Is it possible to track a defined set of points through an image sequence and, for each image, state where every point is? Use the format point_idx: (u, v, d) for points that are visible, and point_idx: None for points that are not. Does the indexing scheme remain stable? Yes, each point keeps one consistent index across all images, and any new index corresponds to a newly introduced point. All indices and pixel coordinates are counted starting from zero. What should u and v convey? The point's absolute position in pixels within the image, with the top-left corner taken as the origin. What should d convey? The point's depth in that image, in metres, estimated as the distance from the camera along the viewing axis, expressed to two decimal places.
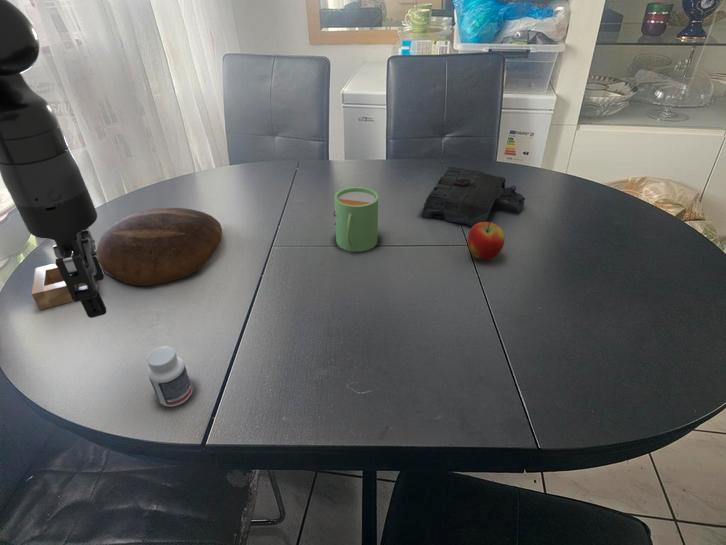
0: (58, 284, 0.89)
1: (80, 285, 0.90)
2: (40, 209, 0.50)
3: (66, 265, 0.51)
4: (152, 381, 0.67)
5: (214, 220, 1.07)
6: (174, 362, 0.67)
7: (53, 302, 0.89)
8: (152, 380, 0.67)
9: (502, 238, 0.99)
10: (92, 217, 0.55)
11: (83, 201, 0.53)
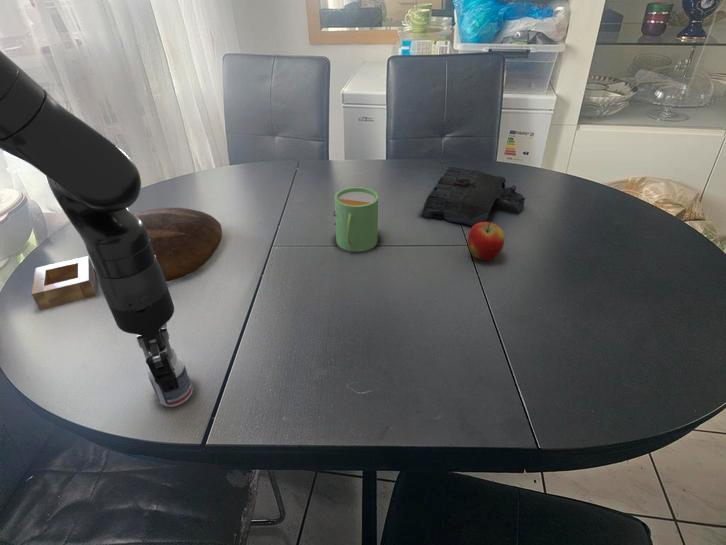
0: (58, 284, 0.89)
1: (80, 285, 0.90)
2: (132, 312, 0.57)
3: (155, 363, 0.59)
4: (152, 381, 0.67)
5: (214, 220, 1.07)
6: (174, 362, 0.67)
7: (53, 302, 0.89)
8: (152, 380, 0.67)
9: (502, 238, 0.99)
10: (172, 311, 0.62)
11: (166, 300, 0.60)
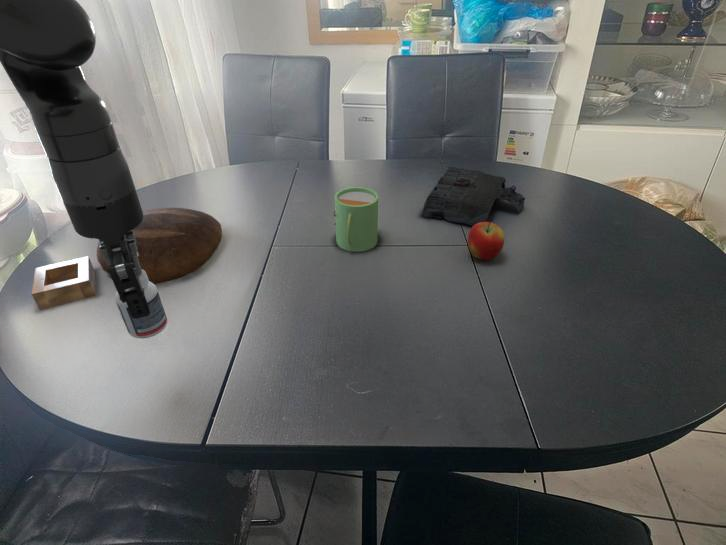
0: (58, 284, 0.89)
1: (80, 285, 0.90)
2: (91, 208, 0.48)
3: (118, 273, 0.50)
4: (119, 306, 0.58)
5: (214, 220, 1.07)
6: (145, 284, 0.59)
7: (53, 302, 0.89)
8: (119, 304, 0.58)
9: (502, 238, 0.99)
10: (140, 217, 0.53)
11: (132, 200, 0.52)
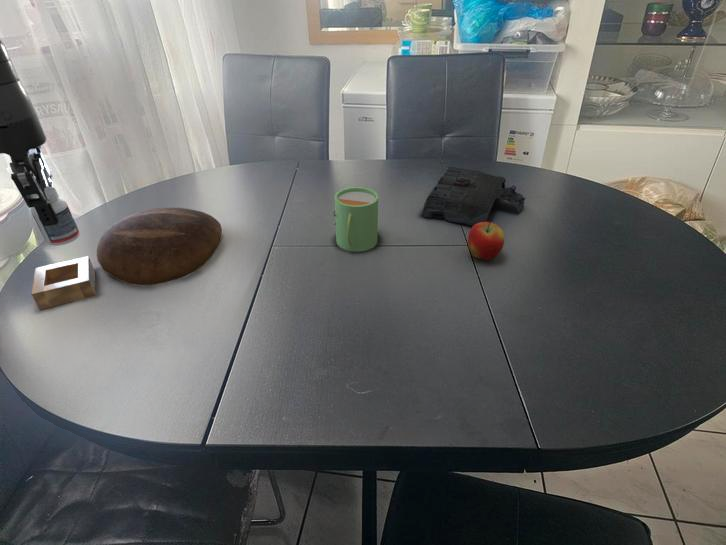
0: (58, 284, 0.89)
1: (80, 285, 0.90)
2: None
3: (20, 180, 0.65)
4: (34, 216, 0.73)
5: (214, 220, 1.07)
6: (54, 198, 0.73)
7: (53, 302, 0.89)
8: (33, 214, 0.73)
9: (502, 238, 0.99)
10: (41, 139, 0.67)
11: (32, 124, 0.66)
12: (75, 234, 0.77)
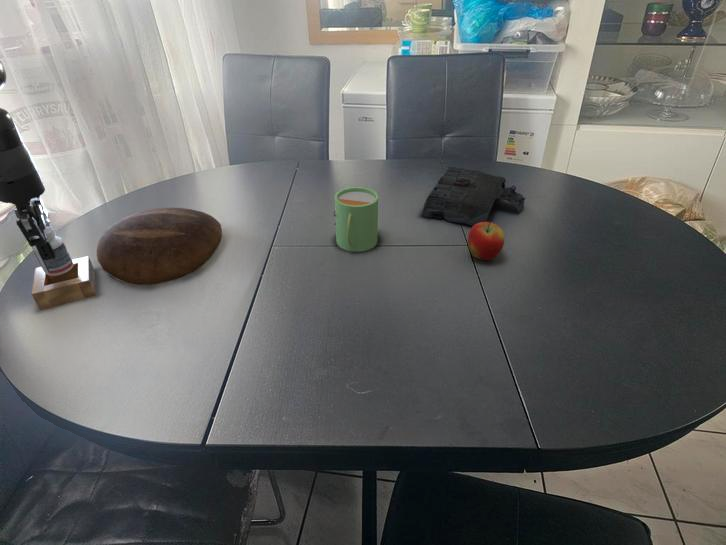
0: (58, 284, 0.89)
1: (80, 285, 0.90)
2: (3, 182, 0.76)
3: (24, 225, 0.78)
4: (34, 251, 0.86)
5: (214, 220, 1.07)
6: (51, 237, 0.86)
7: (53, 302, 0.89)
8: (34, 250, 0.86)
9: (502, 238, 0.99)
10: (41, 189, 0.81)
11: (33, 178, 0.79)
12: (69, 265, 0.90)
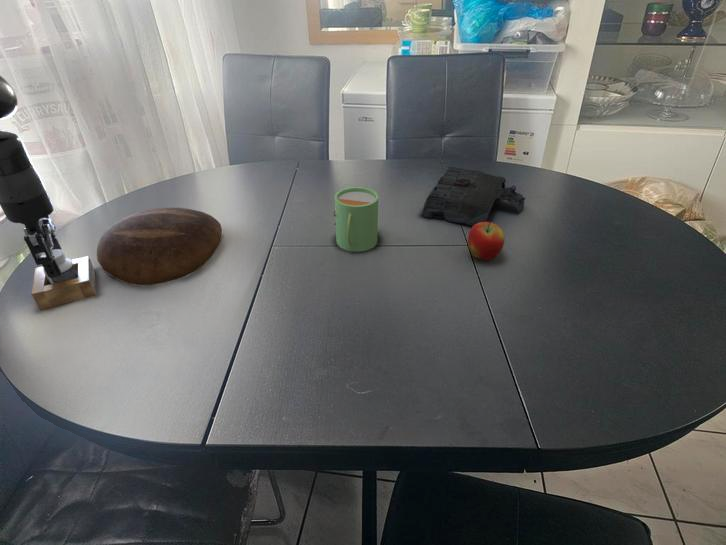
0: (58, 284, 0.89)
1: (80, 285, 0.90)
2: (14, 204, 0.78)
3: (31, 240, 0.80)
4: (45, 273, 0.89)
5: (214, 220, 1.07)
6: (62, 259, 0.89)
7: (53, 302, 0.89)
8: (45, 272, 0.89)
9: (502, 238, 0.99)
10: (50, 209, 0.83)
11: (43, 199, 0.81)
12: None
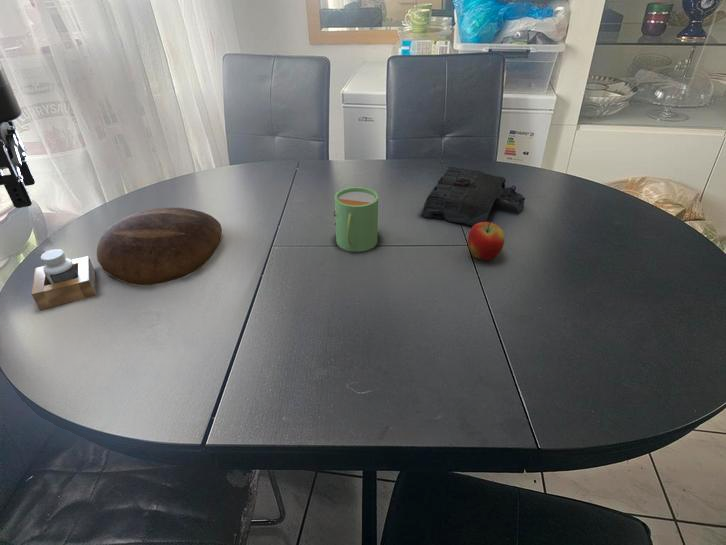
0: (58, 284, 0.89)
1: (80, 285, 0.90)
2: None
3: None
4: (45, 273, 0.89)
5: (214, 220, 1.07)
6: (62, 259, 0.89)
7: (53, 302, 0.89)
8: (45, 272, 0.89)
9: (502, 238, 0.99)
10: (15, 112, 0.62)
11: (5, 94, 0.60)
12: None
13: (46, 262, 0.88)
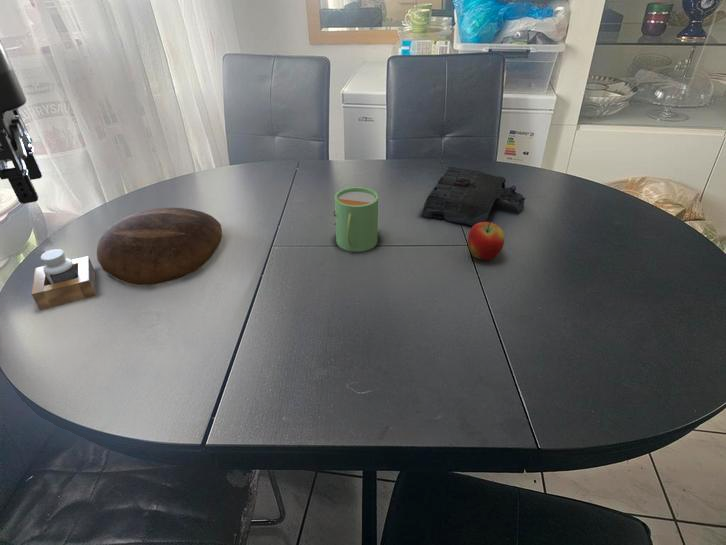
0: (58, 284, 0.89)
1: (80, 285, 0.90)
2: None
3: None
4: (45, 273, 0.89)
5: (214, 220, 1.07)
6: (62, 259, 0.89)
7: (53, 302, 0.89)
8: (45, 272, 0.89)
9: (502, 238, 0.99)
10: (19, 99, 0.57)
11: (8, 80, 0.55)
12: None
13: (46, 262, 0.88)
